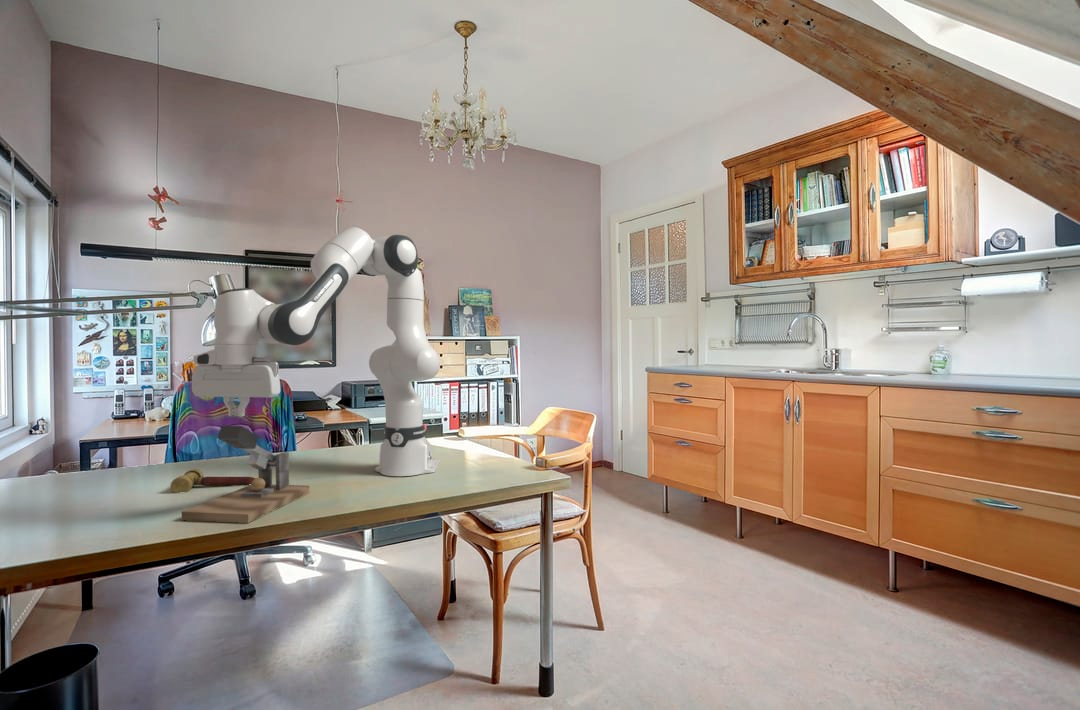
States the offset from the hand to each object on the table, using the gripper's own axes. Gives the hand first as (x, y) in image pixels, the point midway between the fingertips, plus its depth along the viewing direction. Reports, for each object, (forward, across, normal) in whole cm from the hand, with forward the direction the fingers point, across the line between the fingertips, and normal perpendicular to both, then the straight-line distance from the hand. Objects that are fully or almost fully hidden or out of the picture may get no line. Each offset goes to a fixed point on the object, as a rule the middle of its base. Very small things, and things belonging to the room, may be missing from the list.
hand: (236, 416), depth 123 cm
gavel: (+23, +20, -21) cm, 37 cm away
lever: (+12, 0, -4) cm, 13 cm away
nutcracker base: (+22, 0, -5) cm, 23 cm away
